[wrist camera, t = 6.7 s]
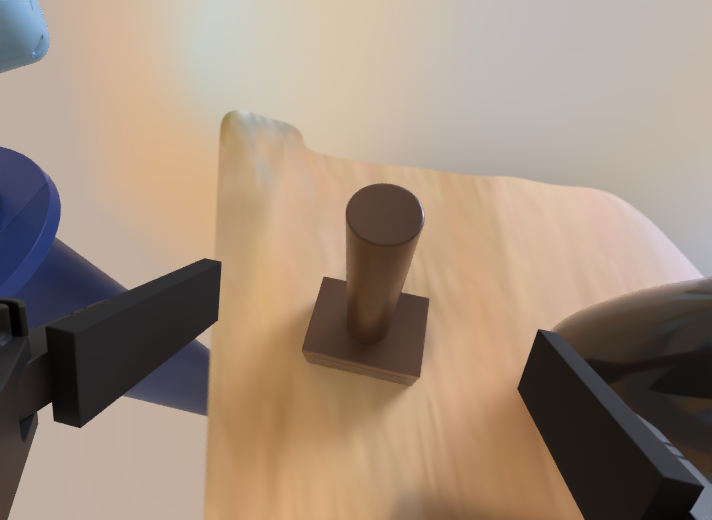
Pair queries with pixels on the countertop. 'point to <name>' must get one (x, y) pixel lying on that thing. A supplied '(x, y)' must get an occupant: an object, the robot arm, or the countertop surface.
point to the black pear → (656, 359)
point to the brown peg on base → (373, 292)
